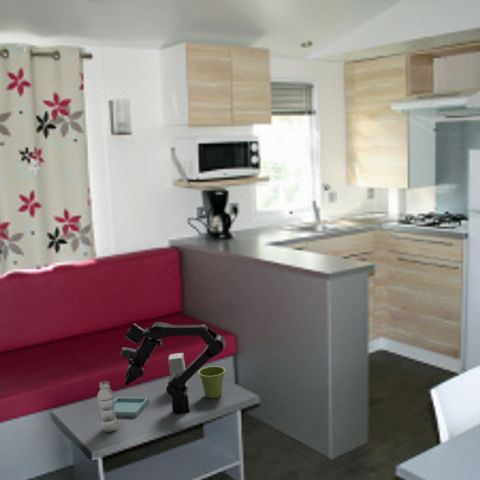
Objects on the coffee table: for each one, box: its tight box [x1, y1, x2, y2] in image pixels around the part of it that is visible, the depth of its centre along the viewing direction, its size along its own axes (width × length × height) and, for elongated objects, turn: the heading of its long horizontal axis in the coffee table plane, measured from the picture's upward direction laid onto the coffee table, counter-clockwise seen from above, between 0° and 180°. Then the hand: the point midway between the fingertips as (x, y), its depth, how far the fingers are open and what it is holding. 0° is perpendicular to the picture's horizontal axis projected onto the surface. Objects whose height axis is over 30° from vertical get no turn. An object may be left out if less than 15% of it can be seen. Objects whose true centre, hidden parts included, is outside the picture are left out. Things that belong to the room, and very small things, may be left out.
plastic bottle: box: [96, 380, 119, 433], centre depth 264 cm, size 6×7×20 cm
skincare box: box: [167, 352, 189, 387], centre depth 302 cm, size 8×7×16 cm
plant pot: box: [197, 365, 226, 399], centre depth 292 cm, size 12×12×11 cm
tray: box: [114, 396, 150, 418], centre depth 285 cm, size 15×15×2 cm
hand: (125, 381), depth 276 cm, fingers open, 9 cm apart
